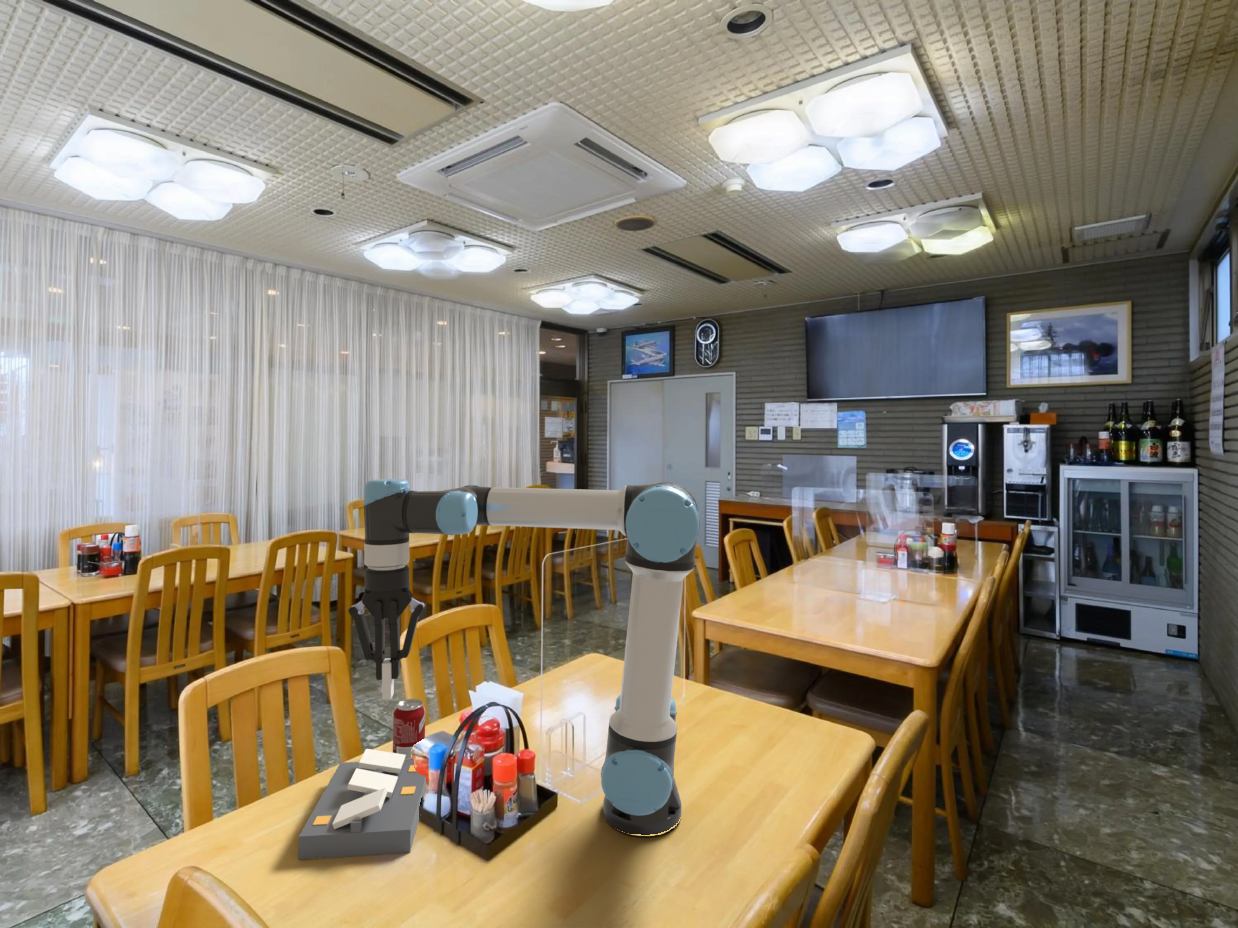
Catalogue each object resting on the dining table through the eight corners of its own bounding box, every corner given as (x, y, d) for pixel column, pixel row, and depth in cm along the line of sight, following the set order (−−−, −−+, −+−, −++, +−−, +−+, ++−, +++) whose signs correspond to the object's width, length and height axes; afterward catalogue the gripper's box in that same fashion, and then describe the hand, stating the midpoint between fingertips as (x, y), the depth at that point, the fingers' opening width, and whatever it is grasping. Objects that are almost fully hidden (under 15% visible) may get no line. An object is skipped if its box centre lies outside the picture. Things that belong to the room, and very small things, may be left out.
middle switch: (395, 783, 120) (398, 776, 120) (389, 801, 114) (392, 792, 114) (354, 775, 119) (356, 767, 119) (345, 792, 113) (348, 784, 113)
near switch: (388, 794, 112) (385, 786, 112) (381, 813, 106) (378, 805, 106) (344, 812, 111) (341, 804, 111) (335, 832, 105) (331, 824, 105)
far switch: (404, 761, 128) (406, 754, 128) (398, 776, 122) (400, 768, 122) (364, 755, 127) (366, 748, 127) (357, 770, 121) (359, 762, 121)
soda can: (414, 766, 134) (415, 711, 134) (386, 762, 135) (387, 708, 135) (430, 751, 141) (431, 699, 140) (403, 747, 142) (404, 696, 142)
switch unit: (430, 776, 130) (431, 750, 130) (410, 852, 106) (410, 819, 106) (340, 781, 127) (340, 754, 127) (298, 859, 104) (298, 826, 103)
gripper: (427, 560, 115) (428, 686, 116) (353, 562, 113) (354, 690, 114) (422, 568, 108) (422, 702, 108) (342, 571, 105) (343, 707, 106)
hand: (388, 696), depth 111 cm, fingers closed
